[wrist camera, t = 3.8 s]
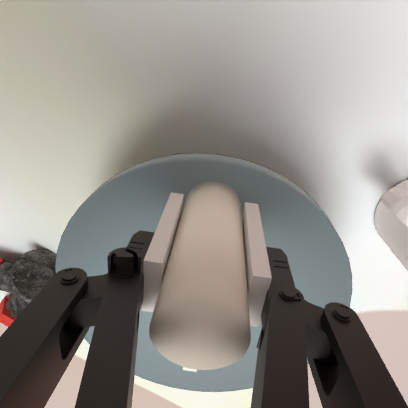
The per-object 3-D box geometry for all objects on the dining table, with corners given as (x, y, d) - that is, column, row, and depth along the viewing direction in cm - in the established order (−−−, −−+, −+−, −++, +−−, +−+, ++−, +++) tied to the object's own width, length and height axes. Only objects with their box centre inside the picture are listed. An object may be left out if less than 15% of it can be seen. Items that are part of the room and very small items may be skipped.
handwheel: (302, 389, 30) (342, 571, 19) (76, 357, 30) (-5, 520, 20) (391, 177, 20) (568, 318, 9) (50, 132, 20) (-138, 222, 10)
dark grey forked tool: (-27, 281, 42) (8, 219, 34) (132, 365, 49) (190, 330, 42) (-67, 323, 37) (-36, 261, 29) (118, 410, 44) (181, 379, 37)
